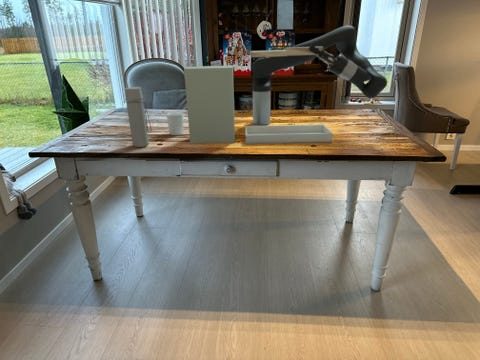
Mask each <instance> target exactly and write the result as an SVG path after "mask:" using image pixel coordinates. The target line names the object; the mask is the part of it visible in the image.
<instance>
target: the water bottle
mask: <svg viewBox="0 0 480 360" xmlns="http://www.w3.org/2000/svg"><path fill="white" fill-rule="evenodd" d="M124 89H125V90H124V92H125V93H124V94H125V98H124V99H125V101H126V102H125V103H126V109H127V110H126V111H127V115H128V116H127V118H128V124H129V129H130V136H131V142H132V146H133V147H135V148H144V147H147V146H148V145H149V144H150V141H149V135H148V134H151V133H152V126H151V121H150V115H149V113H148V108H147V105H146V99H145V98H144V96H143V92H142V87H141V86H130V87H125V88H124ZM147 117H148V119H147ZM148 122H149V127H150V131H149V129H148Z"/></svg>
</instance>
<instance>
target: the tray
mask: <svg viewBox="0 0 480 360" xmlns="http://www.w3.org/2000/svg"><path fill="white" fill-rule="evenodd" d="M244 127H245V129H244V132H245V133H244V136H245V145H268V144H270V145H271V144H272V145H274V144H312V143H313V144H315V143H316V144H318V143H333V136H334V133H333V132H332V131H331V130H330V129H329V127H328V126H326V124H287V125H285V124H284V125H283V124H282V125H276V124H275V125H245V126H244Z"/></svg>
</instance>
